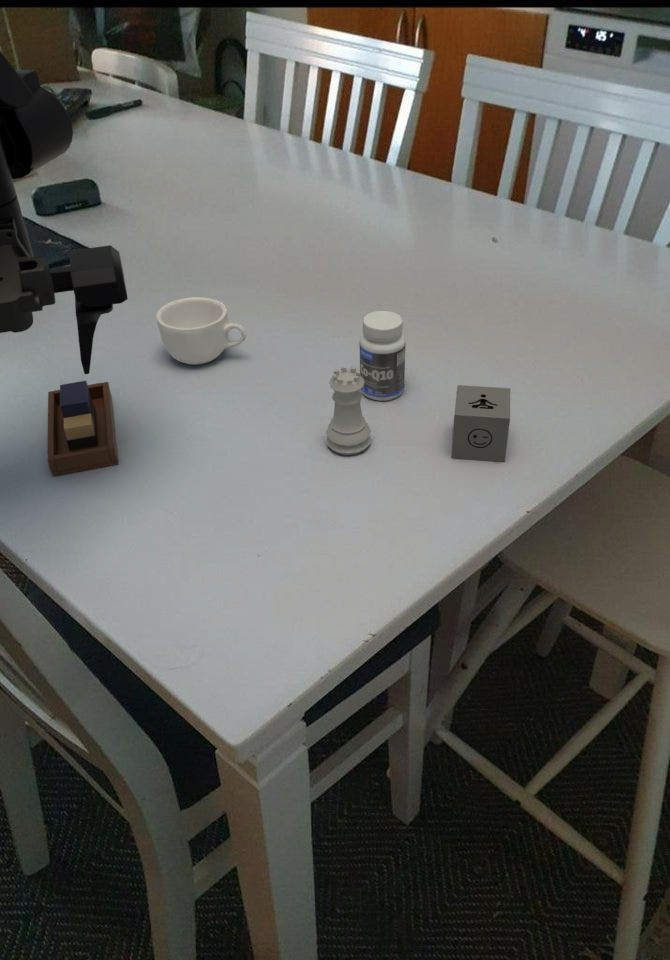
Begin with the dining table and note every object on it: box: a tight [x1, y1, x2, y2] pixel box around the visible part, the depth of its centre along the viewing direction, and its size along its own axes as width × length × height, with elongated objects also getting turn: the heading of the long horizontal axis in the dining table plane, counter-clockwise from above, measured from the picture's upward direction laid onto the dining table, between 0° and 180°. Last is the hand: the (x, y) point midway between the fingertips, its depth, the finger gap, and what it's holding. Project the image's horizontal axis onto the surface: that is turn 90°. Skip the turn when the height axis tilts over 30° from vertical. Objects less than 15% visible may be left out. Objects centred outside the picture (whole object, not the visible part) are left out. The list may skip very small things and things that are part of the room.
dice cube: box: [450, 384, 511, 463], centre depth 77 cm, size 5×5×5 cm
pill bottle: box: [358, 310, 407, 402], centre depth 84 cm, size 5×5×8 cm
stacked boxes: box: [59, 380, 98, 450], centre depth 80 cm, size 6×3×4 cm, turn 15°
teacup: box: [155, 296, 247, 366], centre depth 91 cm, size 10×8×5 cm
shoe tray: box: [46, 381, 120, 477], centre depth 81 cm, size 6×12×2 cm, turn 15°
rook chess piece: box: [325, 366, 372, 456], centre depth 77 cm, size 4×4×8 cm
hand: (32, 380), depth 70 cm, fingers open, 9 cm apart
